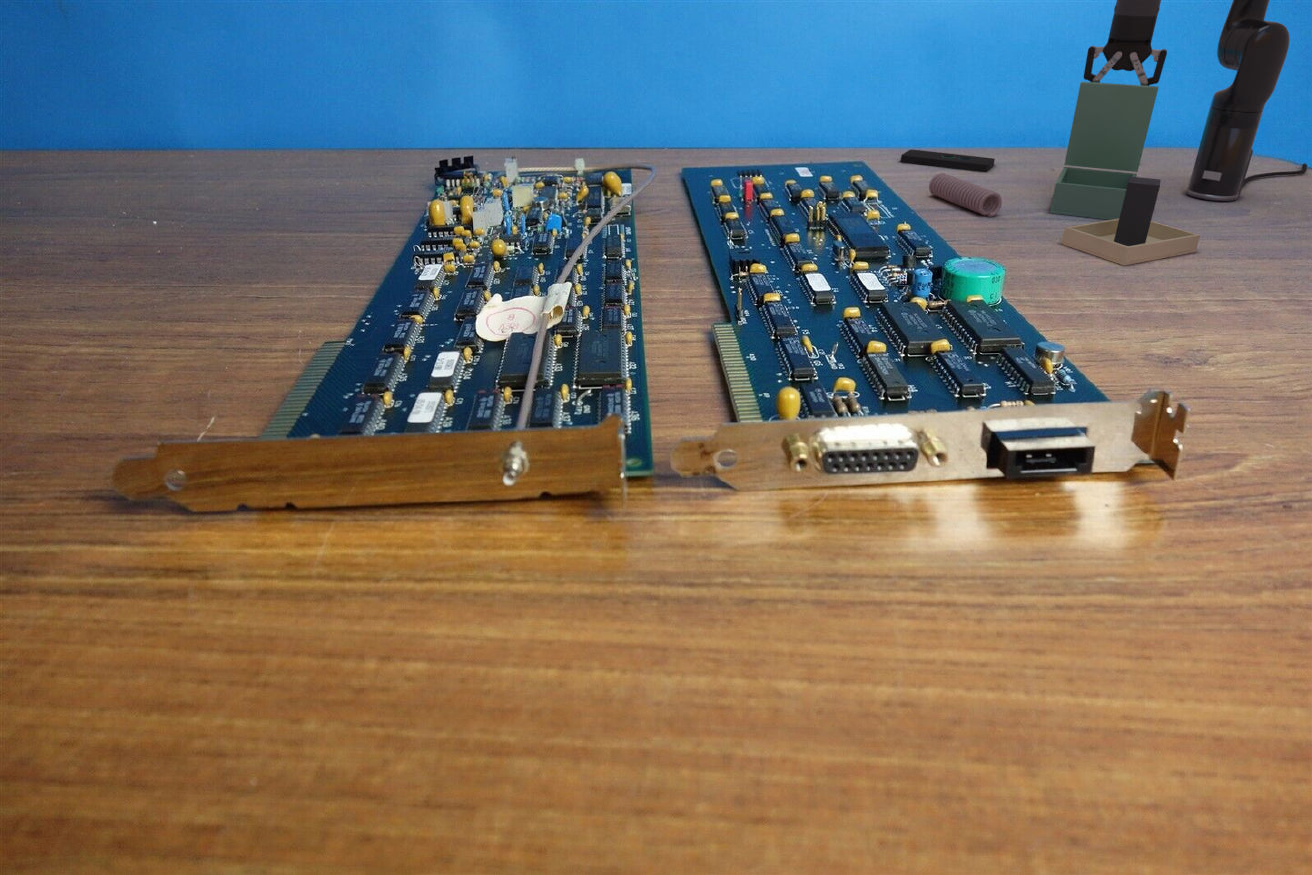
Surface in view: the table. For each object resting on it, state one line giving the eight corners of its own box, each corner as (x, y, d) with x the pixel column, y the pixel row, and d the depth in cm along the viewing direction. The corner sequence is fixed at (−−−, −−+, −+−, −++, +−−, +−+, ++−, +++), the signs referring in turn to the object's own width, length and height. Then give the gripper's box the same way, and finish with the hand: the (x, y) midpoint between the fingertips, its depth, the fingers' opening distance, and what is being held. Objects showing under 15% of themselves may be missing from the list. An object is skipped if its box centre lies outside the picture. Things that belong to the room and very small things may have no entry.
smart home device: (987, 164, 210) (900, 154, 219) (986, 172, 211) (899, 162, 220) (995, 157, 217) (910, 148, 225) (994, 165, 217) (910, 155, 226)
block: (1143, 250, 158) (1160, 185, 153) (1112, 247, 160) (1128, 182, 154) (1144, 243, 162) (1160, 179, 156) (1114, 239, 164) (1129, 176, 158)
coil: (1006, 193, 177) (949, 172, 191) (986, 192, 175) (930, 171, 190) (999, 217, 179) (943, 195, 194) (980, 217, 177) (925, 194, 192)
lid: (1158, 87, 175) (1160, 79, 178) (1080, 83, 180) (1083, 75, 183) (1137, 172, 184) (1139, 163, 188) (1064, 165, 190) (1067, 156, 193)
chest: (1126, 221, 175) (1133, 190, 173) (1049, 213, 181) (1055, 183, 178) (1129, 202, 188) (1137, 173, 185) (1058, 195, 193) (1064, 166, 190)
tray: (1130, 232, 169) (1135, 215, 168) (1195, 252, 159) (1200, 234, 158) (1061, 244, 163) (1065, 227, 161) (1124, 265, 152) (1128, 247, 151)
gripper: (1178, 12, 175) (1155, 105, 182) (1096, 9, 180) (1077, 99, 188) (1178, 15, 169) (1154, 111, 177) (1093, 12, 174) (1073, 105, 182)
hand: (1114, 105), depth 182 cm, fingers open, 7 cm apart
